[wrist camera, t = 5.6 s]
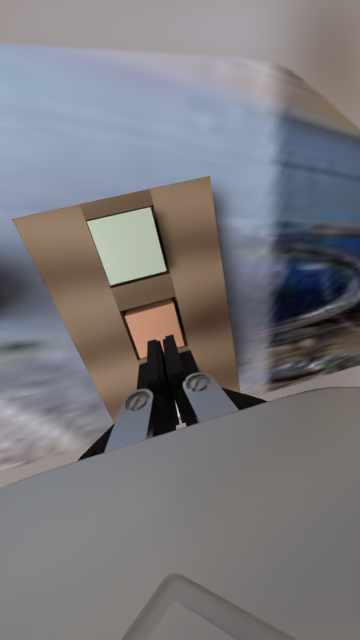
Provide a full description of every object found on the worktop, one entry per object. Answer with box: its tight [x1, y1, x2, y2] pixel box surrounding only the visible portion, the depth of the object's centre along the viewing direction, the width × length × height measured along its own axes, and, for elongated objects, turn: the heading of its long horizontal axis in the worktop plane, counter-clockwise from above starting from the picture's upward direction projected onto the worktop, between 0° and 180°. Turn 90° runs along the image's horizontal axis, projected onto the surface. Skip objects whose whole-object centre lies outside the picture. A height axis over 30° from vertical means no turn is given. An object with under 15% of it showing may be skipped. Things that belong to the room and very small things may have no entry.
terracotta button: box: [125, 298, 184, 359], centre depth 17 cm, size 4×4×3 cm
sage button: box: [87, 207, 166, 285], centre depth 14 cm, size 4×4×3 cm
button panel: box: [12, 176, 240, 423], centre depth 18 cm, size 21×14×4 cm, turn 13°
